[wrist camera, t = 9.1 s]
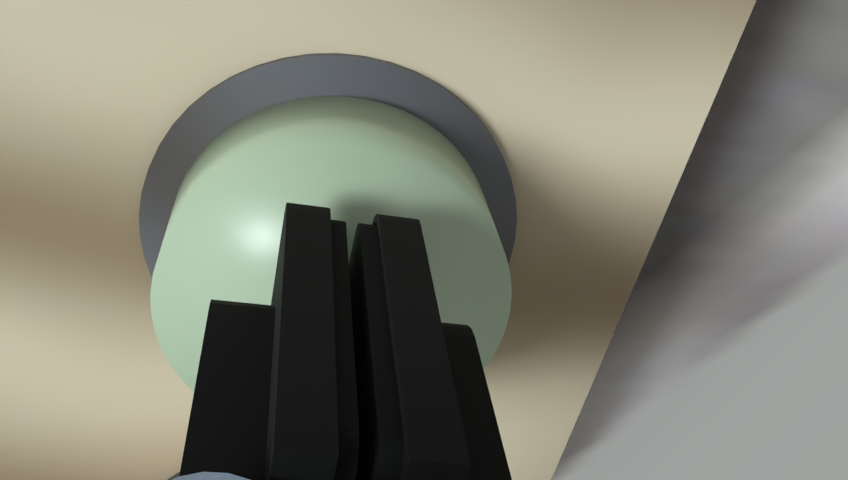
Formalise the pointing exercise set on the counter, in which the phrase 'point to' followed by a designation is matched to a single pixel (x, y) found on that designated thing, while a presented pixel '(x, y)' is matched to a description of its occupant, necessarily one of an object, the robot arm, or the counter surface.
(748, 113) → the counter surface
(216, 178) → the sage button
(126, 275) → the button panel
